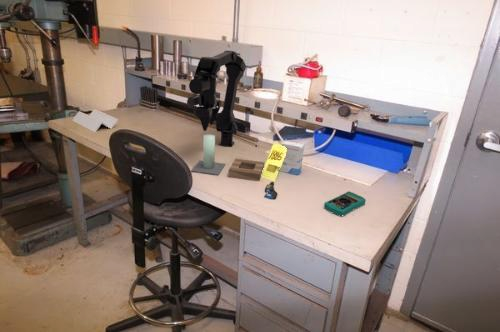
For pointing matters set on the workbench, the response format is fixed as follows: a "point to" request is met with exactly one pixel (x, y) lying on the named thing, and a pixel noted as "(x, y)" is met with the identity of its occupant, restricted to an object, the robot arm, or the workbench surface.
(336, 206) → the digital multimeter
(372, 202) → the workbench surface
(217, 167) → the mat
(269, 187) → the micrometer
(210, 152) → the pin
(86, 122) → the z bracket
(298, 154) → the ink box
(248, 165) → the socket block
